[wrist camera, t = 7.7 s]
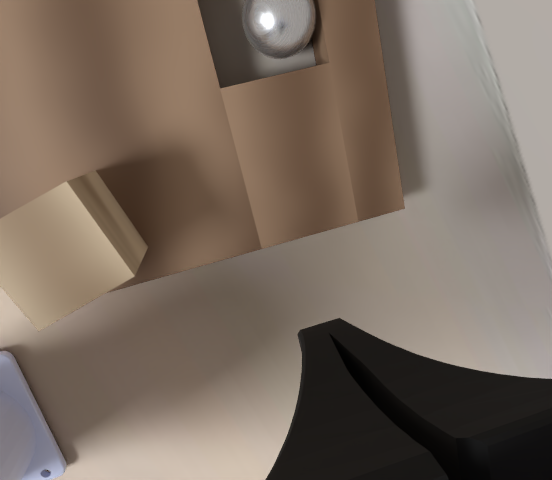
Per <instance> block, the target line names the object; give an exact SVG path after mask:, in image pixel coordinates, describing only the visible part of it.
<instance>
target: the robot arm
mask: <svg viewBox="0 0 552 480" xmlns="http://www.w3.org/2000/svg"><path fill="white" fill-rule="evenodd" d="M298 339H299V343H300V347H301V351H302V373H301V382H300V390H299V395H298V400H297V405H296V409H295V413H294V416H293V419H292V422H291V426H290V429H289V432H288V434H287V437H286V440H285V442H284V444H283V446H282V448H281V451H280V453H279V455H278V457H277V460H276V462H275V464H274V466H273V468H272V470H271V471H270V473H269V475H268V476H267V478H266V480H552V379H542V378H527V377H519V376H511V375H502V374H496V373H489V372H483V371H478V370H473V369H468V368H464V367H459V366H455V365H451V364H447V363H443V362H440V361H436V360H433V359H430V358H426V357H423V356H420V355H417V354H414V353H412V352H409V351H407V350H404V349H402V348H399V347H397V346H394V345H392V344H390V343H387V342H385V341H383V340H381V339H379V338H377V337H375V336H372V335H371V334H369V333H367V332H365V331H363V330H361V329H359V328H357V327H355V326H353V325H351V324H349V323H348V322H346V321H344V320H342V319H340V318H338V319H335V320H331V321H328V322H325V323H322V324H318V325H315V326H312V327H309V328H305V329H302V330H300V331H299V333H298ZM66 466H67V464H66V461H65V459H64V457H63V455H62V453H61V451H60V449H59V447H58V445H57V443H56V441H55V439H54V437H53V435H52V433H51V431H50V429H49V427H48V425H47V423H46V421H45V419H44V417H43V415H42V413H41V411H40V409H39V406H38V404H37V402H36V400H35V398H34V396H33V394H32V392H31V390H30V388H29V386H28V384H27V382H26V380H25V378H24V376H23V374H22V372H21V370H20V368H19V366H18V364H17V362H16V360H15V358H14V356H13V355H12V354H11V353H9V352H7V351H0V480H50V479H53V478H56V477H59V476H61V475H62V474H63V473H64V472H65V469H66ZM46 469H47V470H49V471H50V472H47V471H45V470H46Z"/></svg>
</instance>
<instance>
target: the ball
mask: <svg viewBox="0 0 552 480" xmlns="http://www.w3.org/2000/svg"><path fill="white" fill-rule="evenodd" d="M242 23H243V28H244V32H245V35H246V37H247V39H248V41H249V42H250V44H251V45H252V46H253V47H254V48H255V49H256V50H257V51H258V52H260V53H261V54H263V55H264V56H267V57H270V58H274V59H284V58H288V57H291V56H293V55H295V54H297V53H299V52H300V51H301V50H302V49H303V48H304V47H305V46H306V45H307V44H308V42H309V41H310V39H311V37H312V35H313V32H314V29H315V24H316V9H315V4H314V1H313V0H245V2H244V6H243V11H242Z"/></svg>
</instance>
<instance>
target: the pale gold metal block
mask: <svg viewBox="0 0 552 480" xmlns="http://www.w3.org/2000/svg"><path fill="white" fill-rule="evenodd" d="M147 249H148V246H147V244H146V243H145V241H144V240H143V239H142V237H141V236H140V234H139V233H138V231H137V230H136V228H135V227H134V225H133V224H132V223H131V221H130V220H129V218H128V217H127V215H126V214H125V212H124V211H123V209H122V208H121V207H120V205H119V204H118V202H117V201H116V199H115V198H114V196H113V195H112V193H111V192H110V191H109V189H108V188H107V186H106V185H105V183H104V182H103V180H102V179H101V178H100V176H99V175H98V173H97V172H96V171H93V172H90V173H88V174H85V175H82V176H79V177H77V178H74V179H71V180H69V181H66V182H64V183H62V184H61V185H59V186H57V187H55V188H54V189H52V190H50V191H48V192H47V193H45V194H43V195H41V196H39V197H38V198H36V199H34V200H32V201H31V202H29V203H27V204H25V205H24V206H22V207H20V208H18V209H16V210H15V211H13V212H11V213H9V214H8V215H6V216H4V217H2V218H1V219H0V287H1V288H2V289H3V290H4V291H5V292H6V294H7V295H8V296H9V297H10V298H11V299H12V301H13V302H14V303H15V304H16V305H17V306H18V308H19V309H20V310H21V311H22V312H23V313H24V315H25V316H26V317H27V318H28V319H29V320H30V322H31V323H32V324H33V325H34V326H35V328H36V329H37V330H38V331H41V330H42V329H44V328H46V327H47V326H49V325H51V324H53V323H54V322H56V321H58V320H60V319H61V318H63V317H65V316H67V315H68V314H70V313H72V312H74V311H75V310H77V309H79V308H80V307H82V306H84V305H86V304H87V303H89V302H91V301H93V300H94V299H96V298H98V297H100V296H101V295H103V294H105V293H107V292H108V291H110V290H112V289H114V288H115V287H117V286H119V285H120V284H122V283H124V282H126V281H127V280H129V279H131V278H133V277H134V276H135V275H136V272H137V270H138V268H139V266H140V264H141V262H142V259H143V257H144V255H145V253H146V251H147Z"/></svg>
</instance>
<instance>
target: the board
mask: <svg viewBox="0 0 552 480" xmlns="http://www.w3.org/2000/svg"><path fill="white" fill-rule="evenodd" d="M313 1H314V4H315V9H316V24H315V29H314V32H313V35H312V37H311V39H312V44H313V49H314V55H315V60H316V65H317V66H313V67H309V68H305V69H301V70H296V71H292V72H288V73H284V74H279V75H275V76H271V77H267V78H263V79H258V80H254V81H250V82H246V83H241V84H237V85H233V86H229V87H225V88H220V86H219V82H218V78H217V74H216V71H215V67H214V63H213V59H212V55H211V51H210V47H209V44H208V40H207V36H206V32H205V28H204V24H203V21H202V17H201V13H200V9H199V5H198V1H197V0H0V219H1V218H2V217H4V216H6V215H8V214H9V213H11V212H13V211H15V210H16V209H18V208H20V207H22V206H24V205H25V204H27V203H29V202H31V201H32V200H34V199H36V198H38V197H39V196H41V195H43V194H45V193H47V192H48V191H50V190H52V189H54V188H55V187H57V186H59V185H61V184H62V183H64V182H66V181H69V180H71V179H74V178H77V177H79V176H82V175H85V174H88V173H90V172H93V171H96V172H97V173H98V175H99V176H100V178H101V179H102V180H103V182H104V183H105V185H106V186H107V188H108V189H109V191H110V192H111V193H112V195H113V196H114V198H115V199H116V201H117V202H118V204H119V205H120V207H121V208H122V209H123V211H124V212H125V214H126V215H127V217H128V218H129V220H130V221H131V223H132V224H133V225H134V227H135V228H136V230H137V231H138V233H139V234H140V236H141V237H142V239H143V240H144V241H145V243H146V244H147V246H148V249H147V251H146V253H145V255H144V257H143V259H142V262H141V264H140V266H139V268H138V270H137V272H136V275H135V276H134V277H133V278H131V279H129V280H127V281H126V282H124V283H122V284H120V285H119V286H117V287H115V288H114V289H112V290H110V291H108V292H111V291H115V290H118V289H122V288H125V287H129V286H132V285H136V284H139V283H143V282H146V281H150V280H154V279H157V278H161V277H164V276H168V275H171V274H175V273H178V272H182V271H185V270H189V269H192V268H196V267H200V266H203V265H207V264H210V263H214V262H217V261H221V260H224V259H228V258H231V257H235V256H238V255H242V254H246V253H249V252H253V251H256V250H260V249H263V248H267V247H270V246H274V245H277V244H281V243H285V242H288V241H292V240H295V239H299V238H302V237H306V236H309V235H313V234H316V233H320V232H323V231H327V230H331V229H334V228H338V227H341V226H345V225H348V224H352V223H355V222H359V221H362V220H366V219H369V218H373V217H377V216H380V215H384V214H387V213H391V212H394V211H398V210H401V209H405V207H404V200H403V193H402V186H401V179H400V172H399V165H398V158H397V151H396V144H395V138H394V131H393V124H392V117H391V110H390V103H389V96H388V89H387V82H386V75H385V69H384V62H383V55H382V48H381V41H380V34H379V27H378V20H377V13H376V6H375V0H313ZM108 292H107V293H108Z"/></svg>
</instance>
